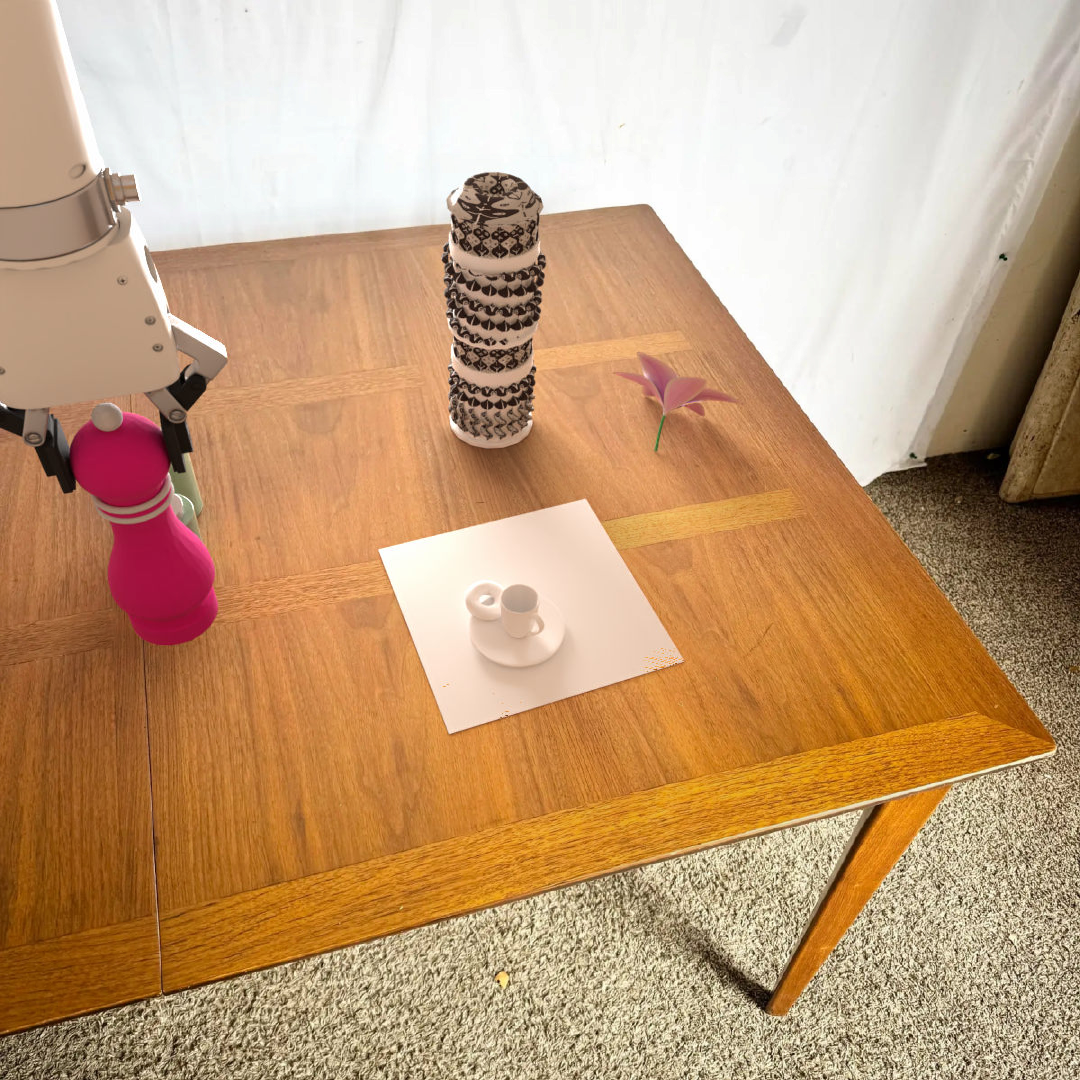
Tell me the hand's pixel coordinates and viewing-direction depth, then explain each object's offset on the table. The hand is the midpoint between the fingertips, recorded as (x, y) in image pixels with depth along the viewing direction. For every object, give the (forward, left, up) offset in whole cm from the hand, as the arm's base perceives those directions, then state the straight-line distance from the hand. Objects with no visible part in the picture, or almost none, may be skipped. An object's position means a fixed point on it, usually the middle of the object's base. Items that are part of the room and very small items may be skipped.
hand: (124, 467), depth 62 cm
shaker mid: (-2, +8, -19) cm, 21 cm away
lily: (+43, +27, -20) cm, 54 cm away
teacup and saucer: (+27, +4, -20) cm, 34 cm away
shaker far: (-4, +16, -19) cm, 25 cm away
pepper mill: (0, 0, -15) cm, 15 cm away
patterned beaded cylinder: (+25, +28, -20) cm, 42 cm away
